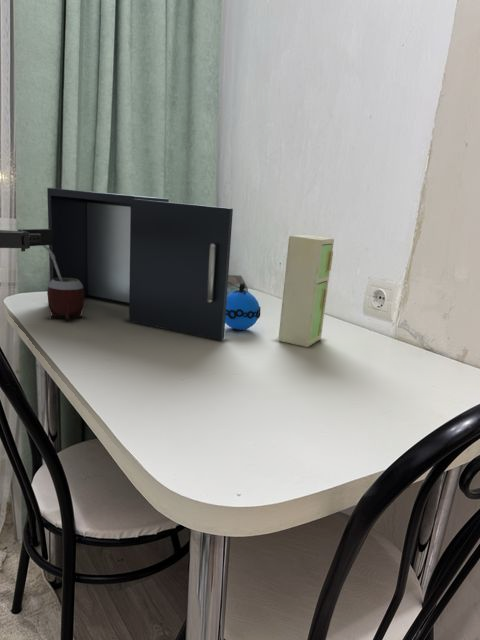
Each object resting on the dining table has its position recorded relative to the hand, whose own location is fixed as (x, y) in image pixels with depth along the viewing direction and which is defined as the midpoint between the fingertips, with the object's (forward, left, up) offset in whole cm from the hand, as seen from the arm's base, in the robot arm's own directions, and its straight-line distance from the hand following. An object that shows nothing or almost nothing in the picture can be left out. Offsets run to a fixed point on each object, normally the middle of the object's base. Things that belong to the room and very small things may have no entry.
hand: (22, 232), depth 91 cm
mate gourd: (0, +10, -18) cm, 20 cm away
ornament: (+32, +27, -18) cm, 45 cm away
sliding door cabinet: (+11, +22, -18) cm, 30 cm away
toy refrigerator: (+46, +28, -18) cm, 57 cm away
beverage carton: (+17, +51, -18) cm, 56 cm away
